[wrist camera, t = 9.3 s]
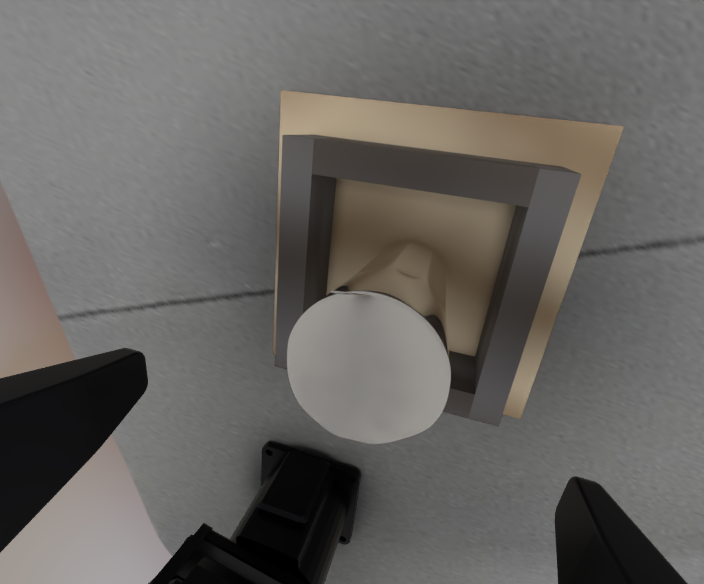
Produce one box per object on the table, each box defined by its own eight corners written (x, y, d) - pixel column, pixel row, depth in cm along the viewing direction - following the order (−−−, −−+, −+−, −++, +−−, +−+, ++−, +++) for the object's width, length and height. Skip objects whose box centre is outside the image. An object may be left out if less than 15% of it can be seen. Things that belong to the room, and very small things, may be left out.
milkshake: (469, 210, 16) (459, 305, 7) (456, 327, 18) (435, 515, 9) (361, 204, 17) (239, 280, 8) (360, 315, 19) (260, 471, 10)
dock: (518, 406, 20) (527, 466, 16) (280, 345, 23) (244, 384, 19) (614, 126, 15) (659, 124, 11) (290, 92, 17) (243, 82, 14)
